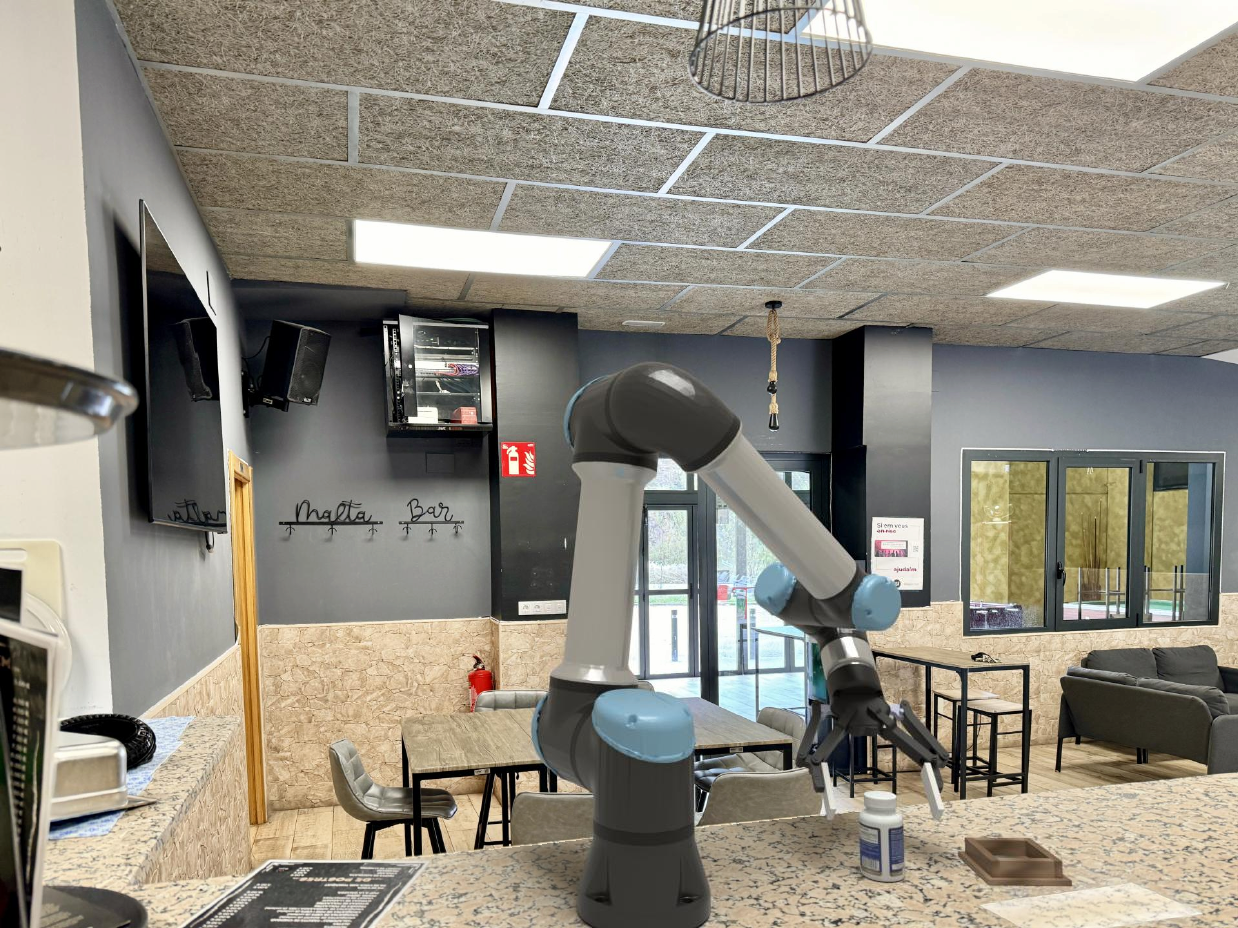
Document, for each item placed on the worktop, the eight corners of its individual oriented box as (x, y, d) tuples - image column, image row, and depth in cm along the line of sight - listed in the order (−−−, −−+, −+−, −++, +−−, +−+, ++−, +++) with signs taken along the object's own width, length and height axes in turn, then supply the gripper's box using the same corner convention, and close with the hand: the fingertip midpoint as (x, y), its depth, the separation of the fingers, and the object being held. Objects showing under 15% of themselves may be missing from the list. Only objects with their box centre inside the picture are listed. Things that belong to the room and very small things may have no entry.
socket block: (988, 884, 103) (987, 862, 104) (958, 855, 113) (957, 835, 114) (1072, 885, 103) (1070, 863, 103) (1033, 856, 113) (1032, 836, 113)
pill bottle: (899, 867, 109) (897, 789, 110) (909, 883, 104) (907, 801, 105) (856, 866, 109) (854, 788, 110) (864, 882, 104) (862, 799, 105)
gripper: (931, 692, 127) (976, 829, 110) (763, 692, 127) (783, 829, 111) (942, 660, 122) (991, 799, 106) (768, 660, 122) (790, 798, 106)
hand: (885, 814), depth 108 cm, fingers open, 13 cm apart
